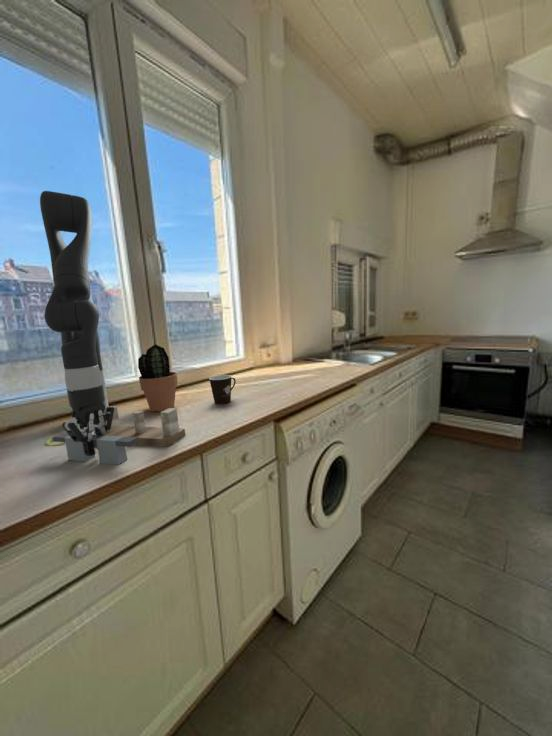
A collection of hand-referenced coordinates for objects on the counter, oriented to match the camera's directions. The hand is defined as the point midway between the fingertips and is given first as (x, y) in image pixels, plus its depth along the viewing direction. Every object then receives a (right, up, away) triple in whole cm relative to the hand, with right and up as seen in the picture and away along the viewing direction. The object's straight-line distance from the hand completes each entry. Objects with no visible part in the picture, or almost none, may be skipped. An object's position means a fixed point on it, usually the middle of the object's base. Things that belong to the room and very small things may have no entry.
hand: (96, 451), depth 79 cm
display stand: (+6, 0, +13) cm, 14 cm away
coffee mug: (+25, +7, +47) cm, 54 cm away
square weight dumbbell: (0, -2, 0) cm, 2 cm away
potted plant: (+1, +5, +43) cm, 43 cm away
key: (-18, -1, +17) cm, 25 cm away
